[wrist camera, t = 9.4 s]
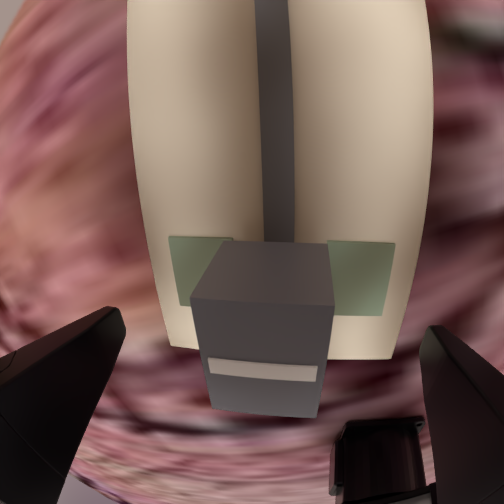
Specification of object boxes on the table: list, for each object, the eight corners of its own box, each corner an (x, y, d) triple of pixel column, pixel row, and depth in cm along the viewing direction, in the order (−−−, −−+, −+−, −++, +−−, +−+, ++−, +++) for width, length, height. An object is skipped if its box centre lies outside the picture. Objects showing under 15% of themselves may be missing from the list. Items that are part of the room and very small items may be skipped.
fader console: (372, -100, 5) (382, -133, 2) (380, 318, 15) (391, 361, 12) (167, -88, 7) (140, -114, 4) (190, 308, 16) (169, 347, 13)
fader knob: (325, 229, 10) (335, 307, 6) (317, 328, 11) (316, 419, 8) (232, 227, 10) (188, 299, 6) (239, 324, 12) (212, 410, 8)
